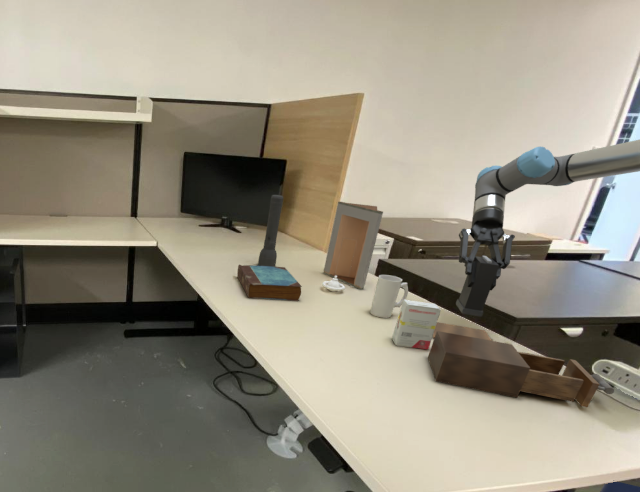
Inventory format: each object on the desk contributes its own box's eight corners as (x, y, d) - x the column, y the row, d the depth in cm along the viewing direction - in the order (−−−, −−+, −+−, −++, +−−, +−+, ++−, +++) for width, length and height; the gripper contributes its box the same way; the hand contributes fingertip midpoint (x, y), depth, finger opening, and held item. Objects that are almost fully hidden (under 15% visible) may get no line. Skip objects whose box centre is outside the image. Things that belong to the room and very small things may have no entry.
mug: (373, 317, 145) (383, 280, 139) (365, 309, 151) (375, 274, 146) (405, 319, 145) (416, 282, 140) (396, 312, 151) (407, 276, 146)
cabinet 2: (500, 371, 115) (512, 344, 112) (517, 398, 104) (530, 368, 100) (427, 357, 120) (436, 330, 117) (435, 381, 108) (446, 352, 105)
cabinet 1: (323, 273, 188) (338, 201, 176) (341, 272, 192) (357, 201, 180) (360, 289, 171) (379, 211, 159) (379, 288, 174) (400, 211, 163)
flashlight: (254, 264, 192) (265, 269, 186) (264, 194, 180) (276, 197, 175) (267, 263, 195) (278, 268, 190) (278, 194, 183) (290, 197, 178)
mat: (484, 332, 140) (485, 330, 140) (496, 350, 128) (497, 348, 128) (426, 321, 144) (427, 320, 144) (433, 338, 132) (433, 336, 132)
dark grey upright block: (474, 306, 136) (493, 256, 130) (481, 316, 128) (502, 263, 122) (455, 303, 137) (473, 253, 131) (461, 313, 130) (480, 260, 123)
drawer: (586, 385, 110) (598, 364, 107) (612, 412, 99) (625, 389, 97) (491, 367, 115) (500, 346, 113) (506, 390, 104) (515, 368, 102)
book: (236, 277, 173) (238, 264, 171) (283, 280, 174) (285, 267, 172) (247, 298, 153) (249, 283, 151) (300, 301, 154) (302, 286, 152)
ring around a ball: (329, 285, 172) (316, 288, 168) (333, 270, 170) (319, 273, 165) (348, 292, 167) (334, 295, 162) (352, 277, 164) (338, 280, 160)
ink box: (423, 343, 129) (436, 302, 124) (428, 350, 124) (442, 309, 119) (391, 338, 130) (402, 298, 125) (394, 345, 126) (407, 304, 121)
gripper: (516, 227, 134) (511, 298, 127) (449, 219, 139) (441, 287, 132) (529, 211, 128) (525, 285, 120) (459, 203, 132) (450, 274, 125)
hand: (481, 286), depth 126 cm, fingers closed on dark grey upright block, 4 cm apart
